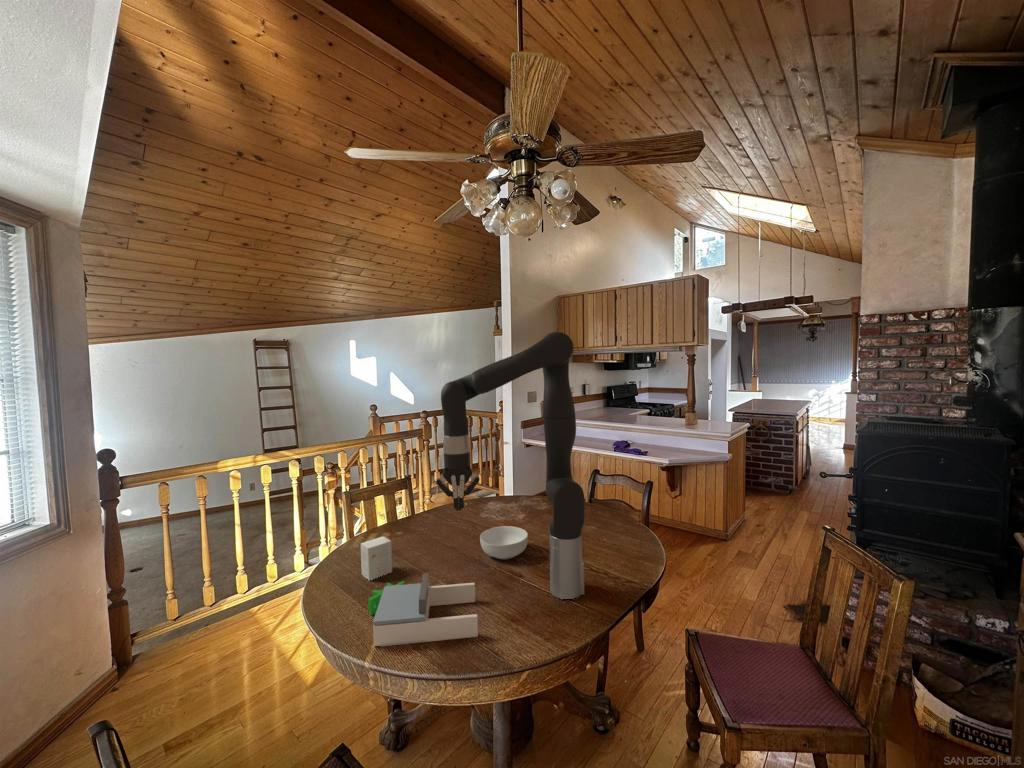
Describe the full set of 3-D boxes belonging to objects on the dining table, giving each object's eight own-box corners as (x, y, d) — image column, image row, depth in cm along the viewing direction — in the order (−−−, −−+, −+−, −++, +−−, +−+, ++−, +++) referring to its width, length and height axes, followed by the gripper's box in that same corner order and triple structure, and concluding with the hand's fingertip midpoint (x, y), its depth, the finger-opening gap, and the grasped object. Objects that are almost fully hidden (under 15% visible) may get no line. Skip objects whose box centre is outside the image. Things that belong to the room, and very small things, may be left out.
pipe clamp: (397, 593, 120) (397, 578, 120) (405, 597, 118) (405, 582, 117) (363, 611, 111) (362, 595, 111) (371, 616, 109) (370, 599, 109)
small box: (384, 566, 136) (383, 535, 136) (392, 572, 132) (391, 540, 132) (361, 575, 130) (360, 543, 130) (368, 581, 126) (367, 548, 126)
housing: (474, 599, 116) (474, 582, 115) (477, 636, 100) (477, 616, 99) (385, 608, 112) (384, 590, 112) (373, 647, 96) (373, 626, 96)
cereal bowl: (505, 540, 156) (505, 521, 155) (538, 553, 144) (537, 534, 144) (470, 554, 144) (470, 535, 144) (502, 571, 132) (502, 549, 132)
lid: (429, 585, 114) (428, 570, 114) (424, 620, 98) (424, 602, 98) (384, 589, 112) (384, 573, 112) (372, 625, 96) (372, 607, 96)
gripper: (479, 446, 122) (480, 503, 123) (434, 449, 120) (436, 507, 121) (480, 451, 115) (482, 512, 115) (432, 454, 113) (435, 516, 113)
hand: (458, 509), depth 118 cm, fingers closed
